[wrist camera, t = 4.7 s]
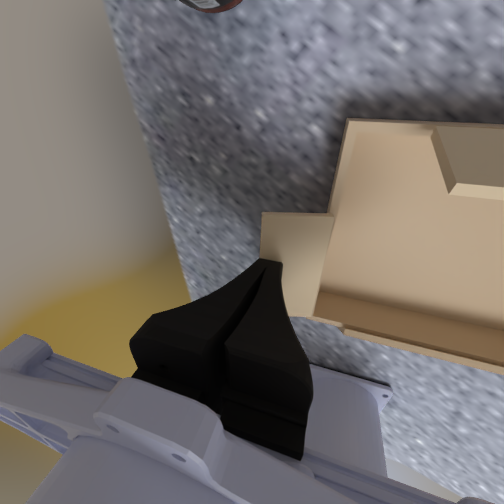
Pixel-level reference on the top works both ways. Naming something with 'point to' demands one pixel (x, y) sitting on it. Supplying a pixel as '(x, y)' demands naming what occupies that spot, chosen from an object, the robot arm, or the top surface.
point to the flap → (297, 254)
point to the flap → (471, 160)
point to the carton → (412, 249)
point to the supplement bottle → (211, 5)
